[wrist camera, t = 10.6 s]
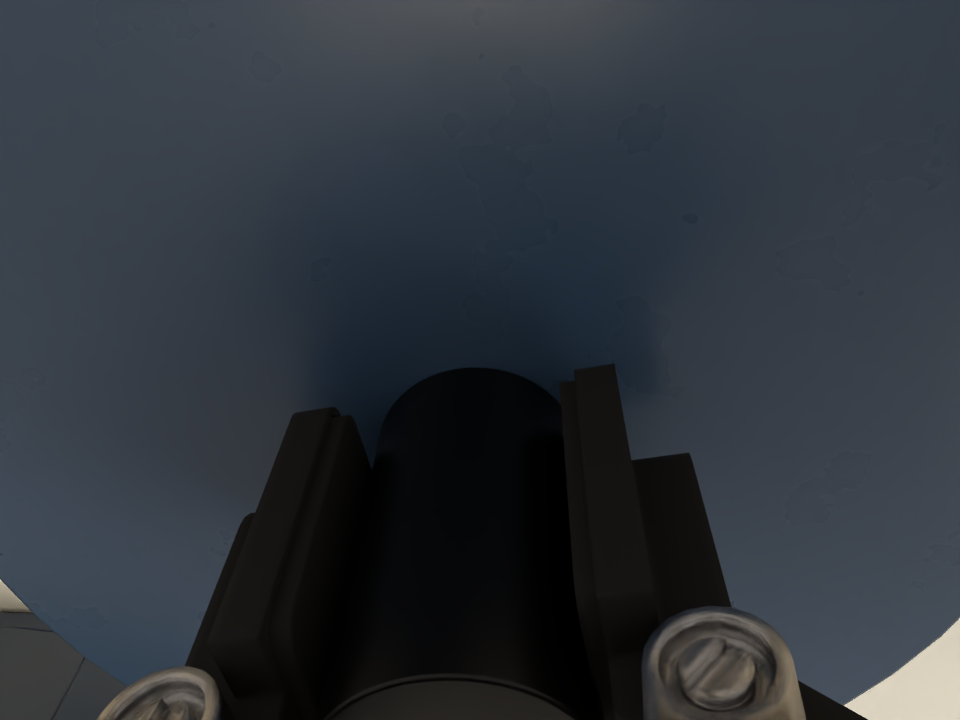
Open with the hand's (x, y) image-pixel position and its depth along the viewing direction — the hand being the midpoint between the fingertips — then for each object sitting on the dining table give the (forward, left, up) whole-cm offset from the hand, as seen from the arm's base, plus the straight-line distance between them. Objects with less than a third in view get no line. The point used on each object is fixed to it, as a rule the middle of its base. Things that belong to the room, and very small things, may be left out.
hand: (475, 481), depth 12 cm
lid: (0, 0, -1) cm, 1 cm away
